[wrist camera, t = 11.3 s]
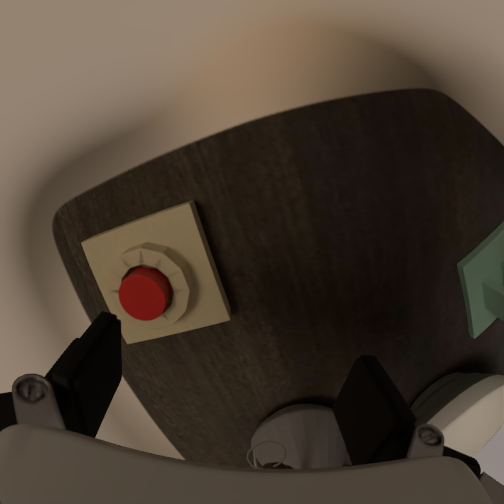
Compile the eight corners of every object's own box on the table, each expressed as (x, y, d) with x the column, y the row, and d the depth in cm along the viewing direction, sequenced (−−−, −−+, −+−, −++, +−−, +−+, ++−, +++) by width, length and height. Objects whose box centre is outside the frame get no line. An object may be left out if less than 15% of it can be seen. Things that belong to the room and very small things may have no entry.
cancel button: (119, 274, 21) (110, 282, 19) (160, 261, 21) (153, 269, 19) (137, 314, 22) (130, 325, 20) (177, 304, 22) (173, 315, 20)
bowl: (471, 408, 35) (496, 440, 26) (378, 457, 35) (396, 499, 26) (493, 324, 29) (534, 357, 20) (380, 383, 30) (413, 439, 21)
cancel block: (91, 236, 23) (70, 248, 19) (193, 199, 23) (185, 206, 19) (133, 332, 26) (121, 355, 22) (230, 308, 26) (230, 331, 22)
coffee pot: (347, 431, 32) (381, 519, 18) (267, 456, 33) (278, 548, 18) (309, 305, 26) (371, 431, 12) (195, 346, 27) (171, 480, 12)
